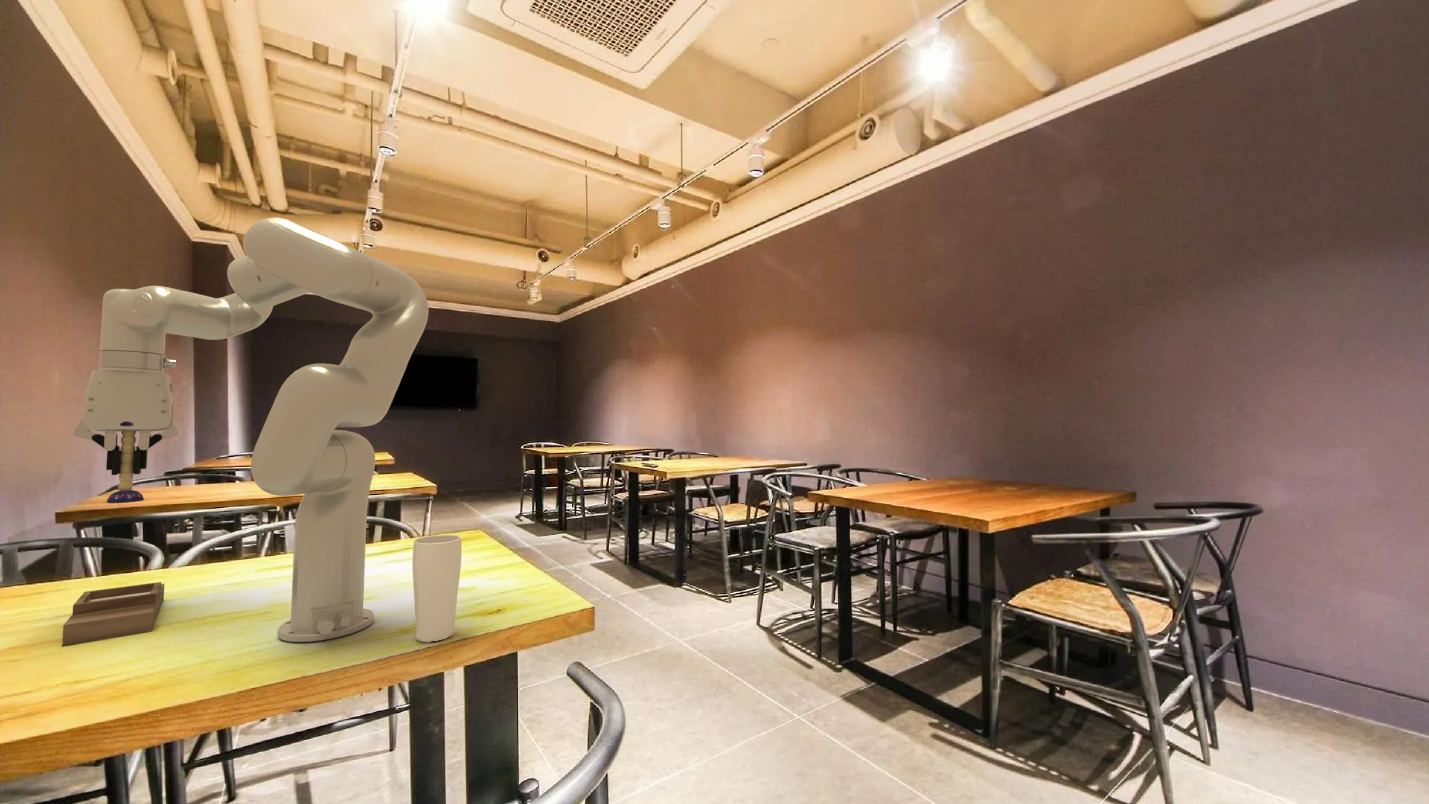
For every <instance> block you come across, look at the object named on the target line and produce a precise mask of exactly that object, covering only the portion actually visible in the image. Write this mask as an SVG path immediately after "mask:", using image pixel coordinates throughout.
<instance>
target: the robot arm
mask: <svg viewBox="0 0 1429 804" xmlns="http://www.w3.org/2000/svg"><path fill="white" fill-rule="evenodd" d="M242 247H243V251H244V252H243V253H245V255H244V256H241V257H238V258H236V259H234V260H232V261H231V262H230V263H229V265H228V267H227V272H226V274H227V275H226V276H227V280H228V284H230V287H231V288H232V290H233V292H234V293H230V294H229V295H225V296H223V297H222V296H221V297H218V298H215V297H212V296H208V295H203V294H199V293H196V292H195V293H194V292H191V291H187V290H181V289H176V288H172V287H169V286H168V287H167V286H161V285H148V286H143V287H139V288H136V289H130V288H112V289H110V290H107V291H106V292H105V293H104V294H103V297H102V306H101V307H102V308H101V309H102V311H101V324H100V325H101V326H100V340H99V341H100V343H99V357H98V358H99V359H98V361H99V362H98V369H93V370H92V372H91V374H90V378H89V381H88V384H87V388H86V393H85V398H84V404H83V405H84V406H83V410H82V411H83V412H82V419H81V420H80V421H79V424H78V425H77V427H76V429H75V430H74V431H73V436H75V437H77V438H82V439H85V440H89V441H93V442H94V443H96V444H97V445H99V446H100V447H102V448H103V449H104V450H105V451H106V467H105V468H106V471H111V476H117V475H119V474H120V473H121V472H120V470H119V468H120V464H121V462H120V456H121V455H122V453H121V447H120V446H119V445H118V443H119V432H121V431H136V432H139V436H138V445H137V446H135V451H134V458H133V475H140V474H141V473H142V470H146V469H147V466H148V465H147V464H148V450H149V449H151V448H152V447H153V446H155V445H157V444H158V443H159V442H160V441H164V440H168V439H170V438H173V437H178V436H179V435H180V431H179V429H178V427H177V426H176V424H175V422H174V420H173V418H174V394H173V384H172V378H171V376H170V375H171V374H168V373H164V371H165V370H167V369H170V368H174V369H175V368H176V367H177V366H176V365H177V361H176V359H171V358H168V357H166V356H165V352H166V335H167V334H170V335H177V336H182V337H183V336H185V337H189V338H191V337H192V338H197V339H203V340H208V341H209V340H210V341H211V340H212V341H213V340H214V341H216V340H217V341H220V340H224V339H229V338H233V337H236V336H238V335H241V334H244V333H247V332H249V331H252V330H255V329H257V328H258V327H260V326H261V325H262V324H263V323H265V321H266V320H267V319H268V318H269V316H270V315H271V313H272V311H273V308H274V306H276V305H279V304H282V303H285V302H288V301H290V300H293V299H295V298H298V297H301V296H304V295H306V294H309V293H312V294H314V295H316V296H319V297H320V298H323V299H327V300H329V301H332V302H335V303H338V304H342V305H345V306H348V307H353V308H356V309H358V310H359V309H360V310H364V311H366V312H369V313H370V314H371V315H372V318H371V319H370V320H369V321H367V322H366V323H365V324H364V325H362V326H361V328H360V329H358V331H357V332H356V333H355V335H354V336H353V338H352V339H351V340H350V344H349V346H348V349H347V352H346V353H345V355H344V357H343V359H342V360H341V362H340V363H339V364H333V363H322V362H321V363H312V364H308V365H304V366H301V367H300V368H299V369H297V370H295V371H294V372H293V373H291V374H290V375H289V376H288V377H287V378H286V380H285V381H284V382H283V383H282V385H281V387H280V388H279V390H278V392H277V395H276V397H275V400H274V402H273V404H272V406H271V408H270V411H269V413H268V415H267V417H266V420H265V421H264V425H263V427H262V429H261V432H260V434H259V437H258V438H257V441H256V443H255V445H254V448H253V452H252V456H251V460H250V470H251V471H250V472H251V477H252V479H253V482H254V483H255V484H256V486H257V487H258V488H259V489H260V490H262V491H263V492H265V493H267V494H269V495H274V496H280V497H284V496H285V497H290V496H299V495H303V496H302V498H301V501H300V502H299V506H298V508H297V511H296V514H295V518H294V519H295V520H294V536H293V558H292V559H293V561H292V579H291V580H292V581H291V583H292V584H291V585H292V586H291V587H292V588H291V606H290V607H291V608H290V609H291V610H290V619H288V620H286V621H284V622H283V623H282V624H281V625H279V626H278V628H277V637H278V638H279V640H282V641H286V642H291V643H309V642H319V641H325V640H332V639H336V638H340V637H344V636H348V635H351V634H354V633H356V632H359V631H362V630H364V629H365V628H368V627H369V626H370V625H372V624H373V622H374V619H375V614H374V612H373V610H371V609H368V608H364V597H365V596H364V595H365V594H364V593H365V569H366V566H365V565H366V543H367V542H366V540H367V539H366V538H367V523H368V521H367V519H368V518H367V517H368V503H369V496H370V489H371V485H372V481H373V476H374V474H375V473H374V472H375V467H376V453H375V450H374V447H373V445H372V443H370V441H369V440H368V439H367V438H366V437H364V436H362V435H361V434H359V433H357V432H355V431H349V430H344V429H343V430H341V429H340V430H339V429H336V428H363V427H364V428H365V427H370V426H373V425H376V424H378V423H380V422H381V421H382V420H383V419H384V417H385V416H386V415H387V413H388V411H389V409H390V408H391V405H392V403H393V400H394V398H395V395H396V393H397V390H398V388H399V386H400V383H401V380H402V379H403V376H404V373H405V371H406V369H407V366H408V363H409V361H410V359H411V357H412V354H413V352H414V351H415V349H416V346H417V345H418V343H419V341H420V339H421V337H422V336H423V333H424V331H425V328H426V325H427V323H428V319H429V303H428V300H427V296H426V295H425V292H424V290H423V289H422V287H421V286H420V284H418V282H417V281H416V280H415V279H414V278H413V277H411V276H410V275H409V274H407V273H406V272H405V271H403V270H401V269H399V268H398V267H396V266H394V265H392V264H390V263H387V262H385V261H382V260H380V259H377V258H375V257H374V256H373V257H372V256H371V255H369V254H366V253H364V252H361V251H360V250H358V249H354V248H353V247H350V246H348V245H345V244H343V243H341V242H338V241H336V240H334V239H332V238H330V237H328V236H327V235H324V234H322V233H320V232H318V231H317V230H314V229H311V228H309V227H306V226H304V225H302V224H300V223H298V222H295V221H294V220H291V219H287V218H282V217H268V218H263V219H260V220H258V221H257V222H254V223H253V224H252V225H251V226H250V227H249V228H247V230H246V232H245V234H244V236H243V241H242ZM125 421H128V422H132V423H133V424H134V425H133V426H120V424H121V423H122V422H125ZM160 431H163V432H160ZM98 432H104V434H101V433H98ZM153 432H159V433H156V434H153V435H152V433H153Z"/></svg>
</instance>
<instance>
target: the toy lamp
mask: <svg viewBox="0 0 1429 804" xmlns="http://www.w3.org/2000/svg"><path fill="white" fill-rule="evenodd" d="M133 425H134V424H133V423H132V422H128V421H125V422H122V423H121V424H120V426H133ZM120 432H121V435H122V436H121V439H120V443H121V447H120V451H121V453H122V455H121V456H120V462H121V464H120V468H119V470H120V472H121V473H120V474H118V481H119V483H118V485H117V488H118V491H117V490H116V491H115V492H113V493H111V494H109V496H108V497H107V500H106V503H107V504H126V503H128V504H129V503H137V502H142V501H144V500H145V498H144V495H143V494H142V493H141V492H140V491H138V490H134V489H133V487H134V483H133V480H134V477H135V476H134V475H135V474H133V458H134V451H136V446H135V444H136V440H137V438H136V433H137V431H120Z"/></svg>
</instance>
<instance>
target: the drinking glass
mask: <svg viewBox="0 0 1429 804" xmlns="http://www.w3.org/2000/svg"><path fill="white" fill-rule="evenodd" d="M412 546H413V547H412V548H413V549H412V582H413V583H412V585H413V597H414V615H415V616H414V618H415V638H416V640H417V641H419V642H421V643H432V642H431V641H437V642H439V641H438V640H441V641H443V640H442V639H444V638H447V639H449V638H450V637H452V636H453V635H454V633H455V627H456V625H455V622H456V621H455V619H456V613H457V600H458V593H459V585H460V578H461V567H462V537H461V536H460V535H456V534H455V535H454V534H439V535H438V534H437V535H436V534H435V535H428V536H423V537H419V538H417V539H414V541H413V545H412ZM449 636H450V637H449ZM448 637H449V638H448ZM444 640H445V639H444Z"/></svg>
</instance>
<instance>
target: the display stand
mask: <svg viewBox="0 0 1429 804" xmlns="http://www.w3.org/2000/svg"><path fill="white" fill-rule="evenodd" d="M164 598H165V583H162V582H161V581H158V582H151V583H141V584H135V585H127V586H120V587H113V588H104V589H103V588H102V589H96V590H90V591H88V590H86V591H84V592H83V593H82V594H81V596H79V597H78V598H77V600H76V601H75V602H74V604H73V605H72V614H71V615H70V616H69V618H68V619H67V620H66V621H65V623H64V624H63V625H62V641H61V647H65V646H66V647H67V646H71V645H77V644H84V643H88V642H95V641H101V640H108V639H113V638H120V637H126V636H130V635H135V634H143V633H147V632H148V633H149V632H153V629H154V627H155V624H156V622H157V619H158V616H159V613H160V611H161V608H162V605H163V604H164V600H165V599H164Z"/></svg>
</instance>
